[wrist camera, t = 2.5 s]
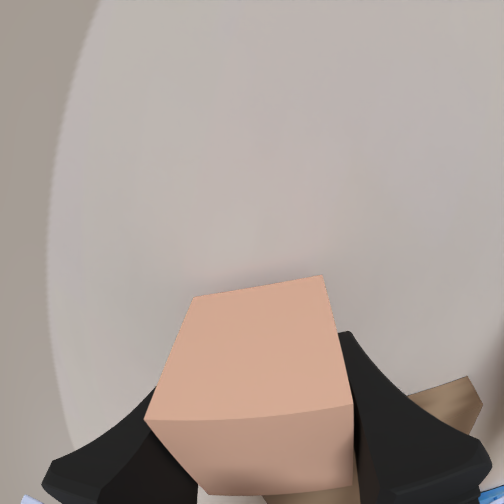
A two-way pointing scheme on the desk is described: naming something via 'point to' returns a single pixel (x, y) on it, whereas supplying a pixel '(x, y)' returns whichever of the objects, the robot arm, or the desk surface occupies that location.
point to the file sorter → (491, 495)
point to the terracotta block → (258, 393)
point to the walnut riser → (433, 401)
